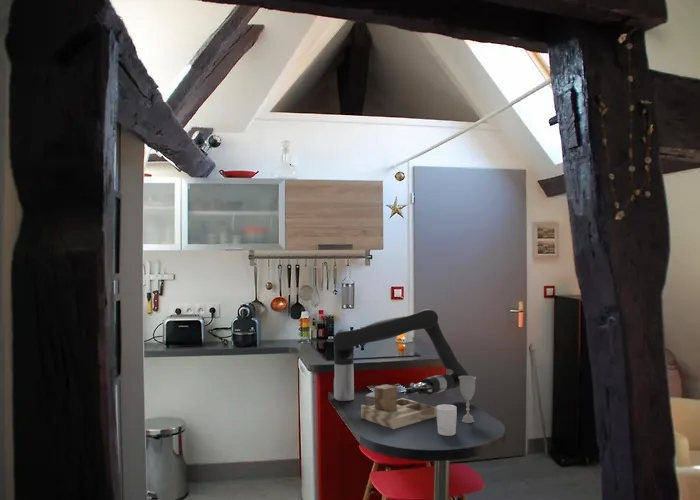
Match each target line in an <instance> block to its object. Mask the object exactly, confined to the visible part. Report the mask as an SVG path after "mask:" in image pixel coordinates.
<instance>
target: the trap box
mask: <svg viewBox="0 0 700 500" xmlns="http://www.w3.org/2000/svg"><path fill="white" fill-rule="evenodd" d="M435 417H436V418H437V415H436V406H433V405H430V404H426V403H422V402H418V401H414V400H411V399H408V398H403V397H401V398H399V399H398V398H397V411H394V412H390V413H388V412H385V411H382V410H378V409H375V405H373V406H366V405H365V404H361V405H360V419H362V420H366V421H369V422H372V423H374V424H378V425H381V426H383V427H387V428H389V429H392V430H395V429H400V428H402V427H406V426H410V425H413V424H416V423H419V422H423V421H426V420H430V419H432V418H435Z"/></svg>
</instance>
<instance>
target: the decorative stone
mask: <svg viewBox="0 0 700 500" xmlns="http://www.w3.org/2000/svg"><path fill="white" fill-rule="evenodd" d="M365 401H366V406H373V405H375V394H374V391H372V392H369V393H367V394H365Z"/></svg>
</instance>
